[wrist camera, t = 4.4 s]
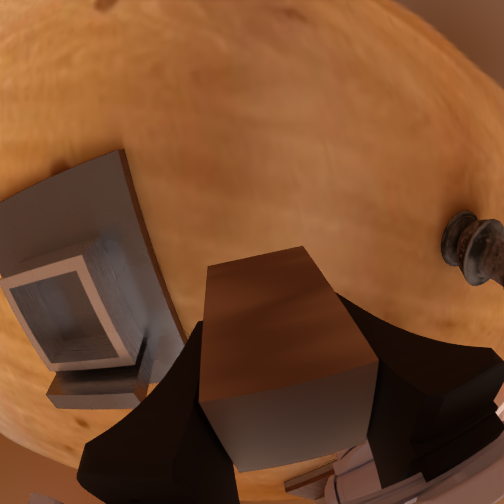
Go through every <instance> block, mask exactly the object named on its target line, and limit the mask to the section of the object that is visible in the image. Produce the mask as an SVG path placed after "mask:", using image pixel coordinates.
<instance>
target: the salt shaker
mask: <svg viewBox="0 0 504 504" xmlns="http://www.w3.org/2000/svg"><path fill="white" fill-rule="evenodd" d="M441 253H442V256H443V259H444V260H445V262H446V263H447V264H449V265H450V266H459V268H460V270H461V271H462V273H463V275H464V277H465V279H466V281H467V282H468V283H469V284H471V285H472V286H478V285H481V284H484V283H485V282H487V281H488V280H489V279H493V280H495V281H496V282H497V283H499V284H500V285H502V286H503V287H504V227H503V225H502V224H501V223H500V221H498V220H496V219H489V220H478V219H477V217H476V216H475V215H474V214H473V213H472V212H470V211H461V212H459V213H457V214H456V215H455V216H453V217H452V219H451V220H450V221H449V223H448V224H447V226H446V228H445V230H444V234H443V237H442V243H441Z"/></svg>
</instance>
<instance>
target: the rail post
mask: <svg viewBox="0 0 504 504" xmlns="http://www.w3.org/2000/svg"><path fill="white" fill-rule="evenodd" d="M378 364H379V359H378V358H377V356H376V354H375V353H374V351H373V350H372V348H371V347H370V345H369V343H368V342H367V340H366V339H365V337H364V336H363V334H362V333H361V331H360V329H359V328H358V326H357V325H356V323H355V322H354V320H353V319H352V317H351V316H350V314H349V313H348V311H347V310H346V308H345V307H344V305H343V304H342V302H341V301H340V299H339V298H338V296H337V295H336V293H335V292H334V290H333V289H332V287H331V286H330V284H329V283H328V281H327V280H326V278H325V277H324V276H323V274H322V273H321V271H320V270H319V268H318V267H317V265H316V264H315V263H314V261H313V260H312V258H311V257H310V255H309V254H308V253H307V251H306V250H305V248H304V247H303V246H299V247H295V248H290V249H286V250H281V251H276V252H272V253H267V254H262V255H258V256H253V257H249V258H244V259H239V260H235V261H230V262H225V263H221V264H216V265H211V266H208V269H207V280H206V292H205V304H204V318H203V332H202V348H201V365H200V384H199V404H200V405H201V407H202V409H203V411H204V413H205V415H206V417H207V418H208V420H209V422H210V424H211V426H212V427H213V429H214V431H215V433H216V435H217V436H218V438H219V440H220V441H221V443H222V445H223V447H224V448H225V450H226V452H227V453H228V455H229V456H230V458H231V460H232V461H233V463H234V465H235V466H236V468H237V469H238V471H239V472H248V471H255V470H261V469H267V468H273V467H278V466H283V465H288V464H293V463H297V462H301V461H306V460H310V459H314V458H318V457H321V456H325V455H329V454H332V453H335V452H339V451H342V450H345V449H348V448H352V447H355V446H358V445H360V444H363V443H365V440H366V435H367V431H368V426H369V421H370V415H371V410H372V404H373V398H374V392H375V386H376V379H377V372H378Z"/></svg>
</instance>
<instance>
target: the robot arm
mask: <svg viewBox="0 0 504 504" xmlns="http://www.w3.org/2000/svg"><path fill="white" fill-rule="evenodd" d="M335 293H336V292H335ZM336 295H337V296H338V298H339V299H340V301H341V302H342V304H343V305H344V307H345V308H346V310H347V311H348V313H349V314H350V316H351V317H352V319H353V320H354V322H355V323H356V325H357V326H358V328H359V329H360V331H361V333H362V334H363V336H364V337H365V339H366V340H367V342H368V343H369V345H370V347H371V348H372V350H373V351H374V353H375V354H376V356H377V358H378V359H379V364H378V372H377V379H376V386H375V392H374V398H373V404H372V410H371V415H370V421H369V426H368V431H367V435H366V440H365V443H363V444H360V445H358V446H355V447H352V448H348V449H345V450H342V451H339V452H335V453H336V456H337V459H338V461H337V462H335V463H333V464H332V465H333V468H334V471H335V474H334V475H331V476H330V477H329V478H328V481H327V484H326V486H325V501H326V504H495V503H496V502H498V501H499V500H500V499H501V498H503V497H504V420H503V421H501V419H500V418H499V417H498V415H497V414H496V413H495V412H497V410H498V406H497V405H496V403H495V402H494V399H495V397H496V396H497V394H498V392H499V390H500V388H501V387H502V385H503V383H504V361H503V360H502V359H501V358H500V357H499V356H498V355H497V353H496V352H495V351H494V350H493V349H492V348H486V347H472V346H463V345H457V344H451V343H446V342H441V341H437V340H433V339H430V338H426V337H423V336H419V335H416V334H413V333H411V332H408V331H406V330H403V329H401V328H398V327H396V326H394V325H391V324H389V323H387V322H385V321H383V320H381V319H379V318H377V317H376V316H374V315H372V314H370V313H368V312H367V311H365V310H363V309H362V308H360V307H358V306H357V305H355V304H353V303H352V302H350V301H349V300H347V299H346V298H344V297H342V296H341V295H339V294H338V293H336ZM202 332H203V321H198V323H197V324H196V326H195V328H194V330H193V331H192V333H191V335H190V337H189V339H188V340H187V342H186V344H185V346H184V347H183V349H182V351H181V352H180V354H179V356H178V357H177V359H176V360H175V362H174V363H173V365H172V366H171V368H170V369H169V371H168V372H167V373H166V375H165V376H164V377H163V379H162V380H161V381H160V383H159V384H158V385H157V386H156V387H155V388H154V390H153V391H152V392H151V393H150V394H149V395H148V396H147V397H146V398H145V399H144V400H143V401H142V402H141V403H140V404H139V405H138V406H137V407H136V408H135V409H134V410H133V411H132V412H130V413H129V414H128V415H127V416H126V417H124V418H123V419H122V420H121V421H119V422H118V423H117V424H115V425H114V426H113V427H111V428H110V429H108V430H107V431H105V432H104V433H102V434H101V435H99V436H97V437H96V438H94V439H93V440H91V441H89V442H88V443H86V444H85V447H84V451H83V454H82V457H81V461H80V465H79V469H78V472H77V480H78V482H79V483H80V485H81V486H82V487H83V488H84V489H86V490H87V491H88V492H90V493H91V494H93V495H94V496H96V497H97V498H98V499H100V500H101V501H103V502H105V503H106V504H240V502H239V497H238V491H237V486H236V480H235V473H234V467H233V461H232V460H231V458H230V456H229V455H228V453H227V452H226V450H225V448H224V447H223V445H222V443H221V441H220V440H219V438H218V436H217V435H216V433H215V431H214V429H213V427H212V426H211V424H210V422H209V420H208V418H207V417H206V415H205V413H204V411H203V409H202V407H201V405H200V404H199V384H200V365H201V348H202ZM28 504H64V503H62V502H60V501H58V500H56V499H54V498H51V497H48V496H45V495H41V494H39V493H36V492H32V493H31V496H30V500H29V503H28Z"/></svg>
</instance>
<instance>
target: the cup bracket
mask: <svg viewBox="0 0 504 504" xmlns="http://www.w3.org/2000/svg"><path fill="white" fill-rule="evenodd" d="M0 274H1V276H2V278H1V279H0V286H1V288H2V290H3V292H4V294H5V296H6V298H7V300H8V302H9V304H10V306H11V308H12V310H13V312H14V314H15V316H16V317H17V319H18V321H19V323H20V325H21V326H22V328H23V330H24V332H25V333H26V335H27V337H28V338H29V340H30V342H31V343H32V345H33V347H34V348H35V350H36V351H37V353H38V354H39V356H40V358H41V359H42V361H43V362H44V364H45V365H46V367H47V368H48V369H49V371H55V372H56V373H57V374H56V376H55V377H54V379H53V381H52V383H51V385H50V387H49V389H48V391H47V393H46V396H47V397H48V398H49V399H50V401H51V402H52V403H53V404H54V406H55V407H56V408H60V409H131V408H136V407H137V406H138V405H139V404H140V403H141V402H142V401H143V400H144V399H145V398H146V395H147V390H148V386H149V384H151V383H160V381H161V380H162V379H163V377H164V376H165V375H166V373H167V372H168V371H169V369H170V368H171V366H172V365H173V363H174V362H175V360H176V359H177V357H178V356H179V354H180V352H181V351H182V349H183V347H184V346H185V344H186V342H187V338H186V335H185V333H184V331H183V328H182V326H181V323H180V321H179V318H178V316H177V313H176V311H175V308H174V306H173V303H172V300H171V298H170V295H169V292H168V290H167V287H166V284H165V282H164V279H163V276H162V273H161V271H160V268H159V265H158V262H157V259H156V256H155V253H154V250H153V247H152V244H151V241H150V238H149V235H148V232H147V229H146V226H145V222H144V219H143V216H142V213H141V209H140V206H139V203H138V199H137V196H136V192H135V189H134V185H133V181H132V178H131V174H130V170H129V167H128V163H127V159H126V155H125V151H124V149H122V150H117V151H114V152H111V153H108V154H106V155H103V156H100V157H98V158H95V159H93V160H90V161H87V162H85V163H82V164H80V165H78V166H75V167H73V168H70V169H68V170H66V171H63V172H61V173H59V174H57V175H54V176H52V177H50V178H48V179H46V180H44V181H41V182H39V183H37V184H35V185H33V186H31V187H29V188H27V189H25V190H23V191H21V192H19V193H17V194H15V195H13V196H12V197H10V198H8V199H6V200H4V201H2V202H1V203H0Z"/></svg>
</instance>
